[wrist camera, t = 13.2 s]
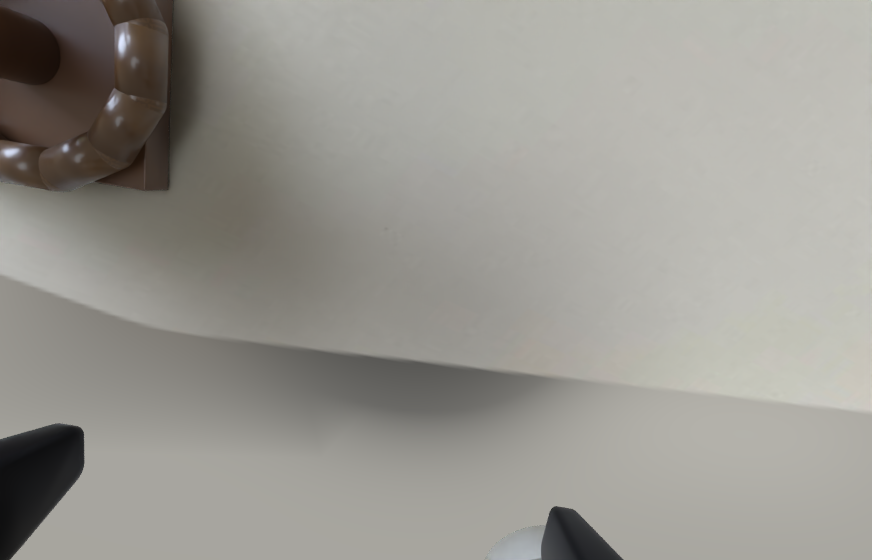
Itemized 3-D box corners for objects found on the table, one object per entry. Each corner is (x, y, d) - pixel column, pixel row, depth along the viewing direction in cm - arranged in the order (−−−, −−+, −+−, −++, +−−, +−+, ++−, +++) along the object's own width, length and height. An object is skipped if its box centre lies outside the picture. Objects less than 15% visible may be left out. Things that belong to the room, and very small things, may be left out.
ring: (173, 207, 18) (146, 210, 16) (-79, 164, 18) (-129, 163, 16) (181, -81, 15) (151, -110, 14) (-108, -133, 15) (-171, -168, 14)
